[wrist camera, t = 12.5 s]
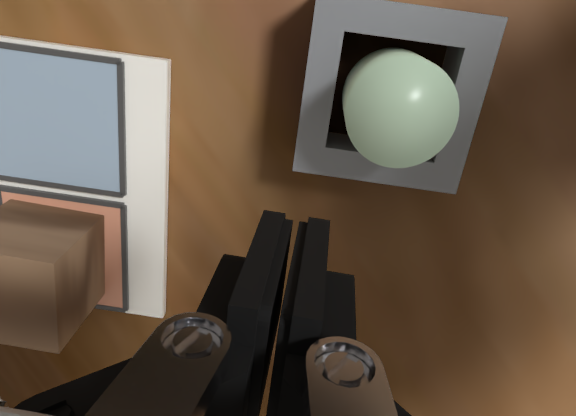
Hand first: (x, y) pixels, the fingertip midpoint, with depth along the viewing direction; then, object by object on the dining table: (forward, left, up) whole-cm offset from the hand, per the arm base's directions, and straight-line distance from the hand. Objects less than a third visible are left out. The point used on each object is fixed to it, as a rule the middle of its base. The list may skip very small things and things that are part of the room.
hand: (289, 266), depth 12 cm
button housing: (-3, +3, -14) cm, 15 cm away
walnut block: (+9, -14, -14) cm, 21 cm away
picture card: (+5, -14, -14) cm, 20 cm away
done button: (-3, +3, -12) cm, 13 cm away
